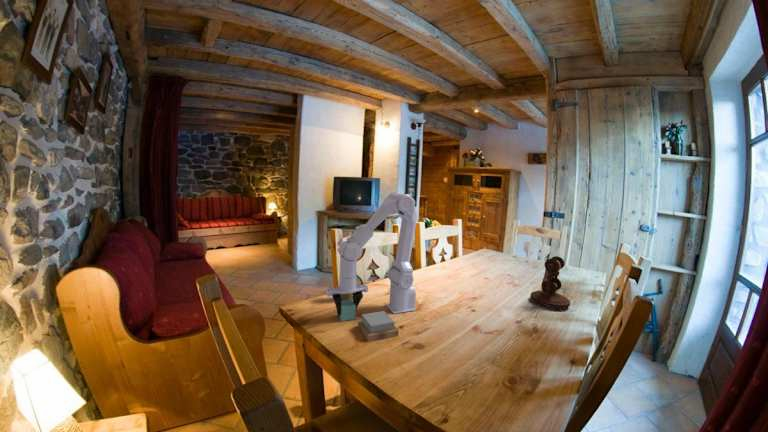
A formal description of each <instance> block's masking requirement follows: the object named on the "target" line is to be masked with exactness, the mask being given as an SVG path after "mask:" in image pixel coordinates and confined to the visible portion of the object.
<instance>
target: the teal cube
mask: <svg viewBox="0 0 768 432" xmlns="http://www.w3.org/2000/svg"><path fill="white" fill-rule="evenodd" d="M356 314H357V311H356V305H355V304H354V302H353V300H346V301H341V315H338V314H337V316H338V318H339V319H340V321H341V322H347V321H352V320H356Z"/></svg>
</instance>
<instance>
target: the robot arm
mask: <svg viewBox="0 0 768 432" xmlns="http://www.w3.org/2000/svg"><path fill="white" fill-rule="evenodd" d="M390 215H398V216H399V217H400V219H401V223H400V228H399V235H398V240H397V241H398V242H397V246H396V247H397V249H396V255H395V259H394V260H393V261H392V262H391V266H390V268H389V270H388V272H387V277H388V280H389V281H390V285H389V286H390V288H389V301H388V302H389V303H385V304H384V305H385V306H386V308H387V309H389V311H390V312H392V313H393V314H400V313H401V314H402V313H407V312H413V311H416V309H417V308H416V296H417V292H416V288H415V287H414V284H413V283H414V281H415V280H414V275H413V272H414V269H413V267H412V264H411V256H412V250H413V244H414V237H415V232H416V228H417V227H416V226H417V220H418V213H417V211H416V200H415V199H414V198H413V197H412V196H411V195H410V194H409V193H406V194H405V193H399V192H396V191H395V192H391V193H390V194H388V195H387V197H385V198H384V199H383V201H382V203H381V205H380V206H379V207H378V208H377V210H376V211H375V212H374V213H373V215H371V217H370V218H369V219H368V221H367V222H366V223H364V224H360V225H357V226H356V227H355V231H354V232H353V233H352V234H351V235H350V236H348V237H347V238H346V239H345V241H342V242H341V243H340V244H339V247H338V248H337V252H338V254H339V255H340V257H339V258H340V259H339V277H340V278H339V281H338V282H339V283H338V284H339V285H338V286H335V287H331V288H326V289H325V290H326V291H325V295H326V297H327V298H329V297H331V296H332V299H333V301H334V304H335V308H336V314H337V316H338V315H341V301H342V299H341V296H340V294H350V293H352V296H353V300H352V301H353V302H354V304H355V305H356V312H357V309H358V307H359V305H360V302H361V301H362V299H363V298H364V294H363V292H364V293H368V292H369V287H368V285H367V284H365V285H364V284H357V266H358V264H357V263H358V261H357V258H358V257H360V255H361V250H362V249H363V248H364V246H365V245H366V244H367V243H368V242H369V241H370V240H371V238H372V237H373V236H374V230H375V229H376V228H377V227H379V225H380V224H381V223H382V222H383V221H384V220H385V219H387V217H388V216H390Z"/></svg>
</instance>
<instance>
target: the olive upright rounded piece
mask: <svg viewBox="0 0 768 432" xmlns="http://www.w3.org/2000/svg"><path fill="white" fill-rule="evenodd" d="M339 279H340V276H339ZM340 296H341V299H342V301H346V300H352V301H353V295H352V293H350V294H340Z"/></svg>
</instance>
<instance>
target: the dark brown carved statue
mask: <svg viewBox="0 0 768 432" xmlns="http://www.w3.org/2000/svg"><path fill="white" fill-rule="evenodd" d="M565 265H566V263H565V261H564V259H563V258H562V257H561V256H557V255H556V256H553V257H551V258H547V259H545V262H544V265H543V266H544V267H545V269H544V270H545V271H544V275H543V278H542V280H541V288H540V289H541V290H540V289H538V290H535V291H532V292H531V293H530V298H531V300H532V303H538V304H540V305H544V306H547V307H551V308H556V310H557V311H558V312H559V311H560V310H561V309H562V308H563V309H564V308H568V307H569V308H570V306H571V301H570V299H569V298H567V297H566V296H564V295H562V294H560V293H557V291H559V290H561V288H562V286H563V285H562V281H561V280H560V279H559V278H558V277H559V276H560V271H561V270H562V269H563V268H564V266H565Z"/></svg>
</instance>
